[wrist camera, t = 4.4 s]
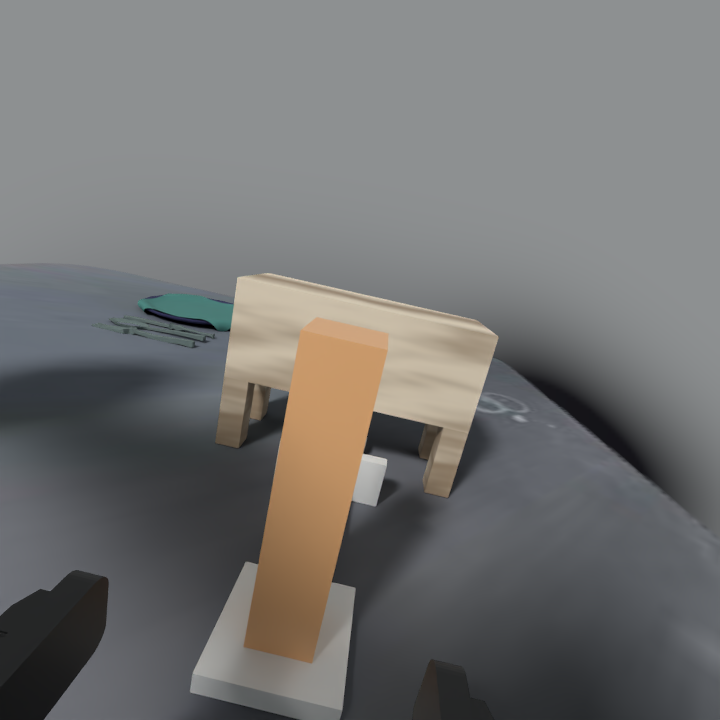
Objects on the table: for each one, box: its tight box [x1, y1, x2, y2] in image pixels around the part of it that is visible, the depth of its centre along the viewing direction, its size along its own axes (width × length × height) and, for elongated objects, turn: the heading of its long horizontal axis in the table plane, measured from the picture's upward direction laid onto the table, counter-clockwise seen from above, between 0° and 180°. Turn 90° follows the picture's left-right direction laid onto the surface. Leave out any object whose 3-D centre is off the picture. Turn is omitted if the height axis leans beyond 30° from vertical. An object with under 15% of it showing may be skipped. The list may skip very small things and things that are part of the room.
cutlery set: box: [92, 294, 234, 347], centre depth 70 cm, size 20×30×2 cm, turn 175°
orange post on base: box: [190, 317, 389, 720], centre depth 22 cm, size 16×8×15 cm, turn 175°
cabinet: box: [215, 273, 498, 498], centre depth 37 cm, size 10×20×14 cm, turn 85°
